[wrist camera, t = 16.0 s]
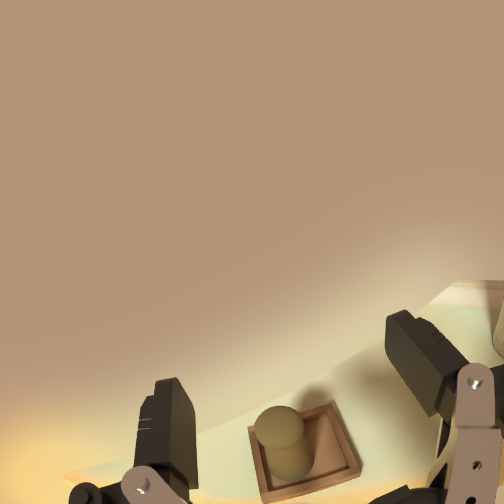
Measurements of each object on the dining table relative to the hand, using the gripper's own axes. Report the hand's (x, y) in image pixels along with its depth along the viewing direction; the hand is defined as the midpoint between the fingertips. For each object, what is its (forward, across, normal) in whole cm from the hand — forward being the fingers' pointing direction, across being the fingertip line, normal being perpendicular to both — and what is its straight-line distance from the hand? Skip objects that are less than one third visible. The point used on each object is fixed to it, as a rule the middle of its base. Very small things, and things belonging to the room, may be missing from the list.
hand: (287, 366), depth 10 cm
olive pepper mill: (+10, +2, +30) cm, 31 cm away
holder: (+11, 0, +30) cm, 32 cm away
